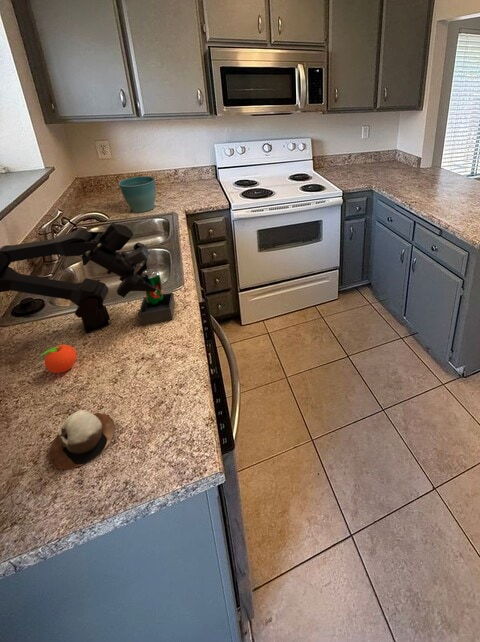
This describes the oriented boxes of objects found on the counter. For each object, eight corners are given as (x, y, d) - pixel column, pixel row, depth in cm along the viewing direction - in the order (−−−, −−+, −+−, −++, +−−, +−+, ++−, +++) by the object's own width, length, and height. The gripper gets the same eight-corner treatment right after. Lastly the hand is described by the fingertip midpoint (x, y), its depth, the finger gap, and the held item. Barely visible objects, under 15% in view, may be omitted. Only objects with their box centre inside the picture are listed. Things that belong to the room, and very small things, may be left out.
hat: (31, 450, 75) (57, 399, 77) (79, 442, 83) (101, 397, 86) (58, 481, 69) (85, 424, 71) (107, 470, 77) (130, 419, 80)
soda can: (149, 300, 118) (142, 268, 113) (165, 297, 119) (159, 266, 114) (146, 309, 113) (139, 277, 109) (163, 307, 114) (157, 274, 110)
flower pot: (129, 218, 192) (122, 188, 186) (121, 208, 205) (115, 180, 199) (164, 209, 203) (158, 181, 197) (154, 201, 216) (149, 174, 210)
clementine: (39, 382, 92) (30, 361, 89) (50, 362, 98) (42, 342, 96) (74, 375, 94) (67, 354, 91) (83, 356, 100) (76, 336, 98)
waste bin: (141, 325, 112) (138, 314, 111) (146, 307, 120) (143, 297, 119) (172, 319, 115) (170, 308, 113) (175, 303, 123) (173, 292, 121)
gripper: (121, 255, 98) (170, 284, 105) (134, 228, 115) (176, 254, 122) (95, 284, 99) (145, 310, 106) (112, 252, 115) (155, 277, 122)
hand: (157, 285), depth 114 cm, fingers closed on soda can, 5 cm apart
